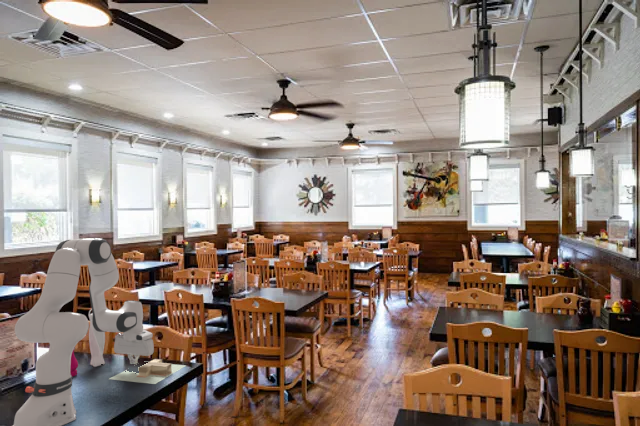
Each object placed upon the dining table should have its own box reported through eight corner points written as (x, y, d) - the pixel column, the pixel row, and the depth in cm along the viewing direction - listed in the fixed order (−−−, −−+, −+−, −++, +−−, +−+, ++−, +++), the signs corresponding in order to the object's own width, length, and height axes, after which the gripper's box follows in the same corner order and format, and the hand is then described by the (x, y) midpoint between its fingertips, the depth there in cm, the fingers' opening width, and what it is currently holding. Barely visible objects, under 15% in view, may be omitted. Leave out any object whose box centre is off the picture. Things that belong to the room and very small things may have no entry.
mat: (155, 384, 196) (155, 384, 196) (108, 379, 203) (108, 378, 203) (186, 366, 219) (186, 365, 219) (143, 362, 226) (143, 361, 226)
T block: (161, 378, 203) (160, 369, 203) (138, 376, 206) (138, 367, 206) (176, 369, 214) (176, 360, 214) (155, 367, 217) (154, 358, 217)
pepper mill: (59, 379, 205) (58, 335, 204) (61, 374, 211) (60, 332, 211) (77, 376, 208) (76, 333, 207) (79, 371, 214) (78, 330, 214)
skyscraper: (86, 364, 224) (85, 308, 224) (101, 360, 230) (100, 306, 230) (92, 367, 219) (91, 310, 219) (108, 363, 225) (107, 308, 224)
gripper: (110, 334, 213) (111, 363, 213) (146, 337, 207) (147, 367, 207) (120, 331, 219) (120, 359, 219) (155, 333, 213) (156, 363, 213)
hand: (133, 363), depth 213 cm, fingers closed
